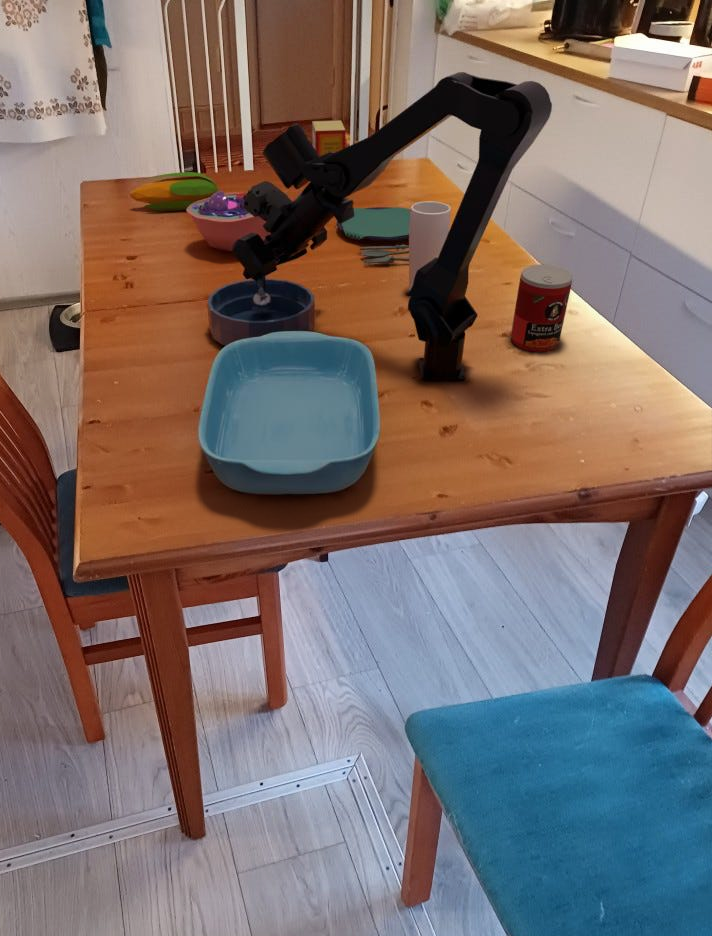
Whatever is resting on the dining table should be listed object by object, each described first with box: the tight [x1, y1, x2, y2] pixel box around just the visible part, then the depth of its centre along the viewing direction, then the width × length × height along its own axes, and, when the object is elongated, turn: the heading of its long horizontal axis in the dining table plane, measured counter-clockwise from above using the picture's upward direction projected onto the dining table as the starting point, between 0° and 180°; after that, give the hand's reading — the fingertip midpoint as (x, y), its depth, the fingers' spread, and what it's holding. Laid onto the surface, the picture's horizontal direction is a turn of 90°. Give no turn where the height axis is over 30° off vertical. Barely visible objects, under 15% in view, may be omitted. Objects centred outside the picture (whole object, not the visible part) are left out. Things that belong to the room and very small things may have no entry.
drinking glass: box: [408, 200, 452, 292], centre depth 135 cm, size 7×7×15 cm
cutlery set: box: [336, 206, 411, 265], centre depth 160 cm, size 20×30×2 cm, turn 3°
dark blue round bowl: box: [206, 278, 316, 347], centre depth 127 cm, size 17×17×6 cm
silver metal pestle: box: [251, 276, 273, 315], centre depth 128 cm, size 4×4×11 cm
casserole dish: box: [197, 331, 381, 495], centre depth 102 cm, size 37×22×7 cm, turn 179°
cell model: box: [186, 190, 270, 253], centre depth 155 cm, size 17×20×11 cm
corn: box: [129, 171, 219, 212], centre depth 176 cm, size 7×8×20 cm
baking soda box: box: [311, 119, 346, 156], centre depth 177 cm, size 10×6×16 cm
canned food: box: [510, 264, 574, 353], centre depth 121 cm, size 8×8×11 cm
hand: (253, 271), depth 127 cm, fingers open, 4 cm apart
